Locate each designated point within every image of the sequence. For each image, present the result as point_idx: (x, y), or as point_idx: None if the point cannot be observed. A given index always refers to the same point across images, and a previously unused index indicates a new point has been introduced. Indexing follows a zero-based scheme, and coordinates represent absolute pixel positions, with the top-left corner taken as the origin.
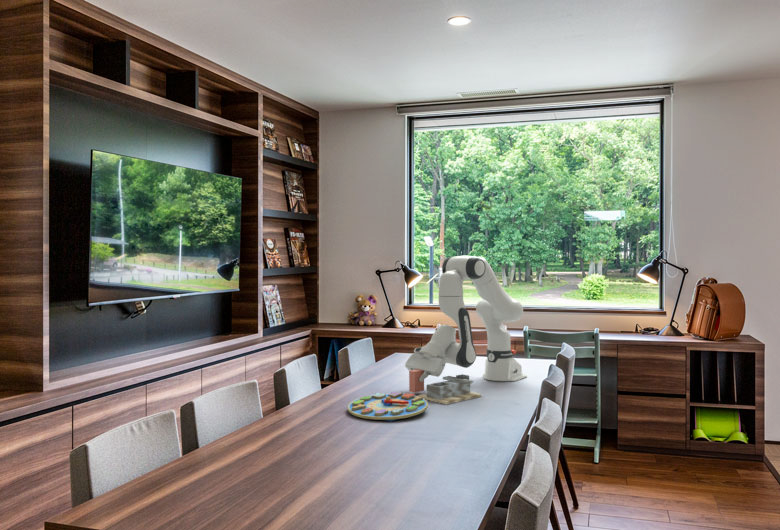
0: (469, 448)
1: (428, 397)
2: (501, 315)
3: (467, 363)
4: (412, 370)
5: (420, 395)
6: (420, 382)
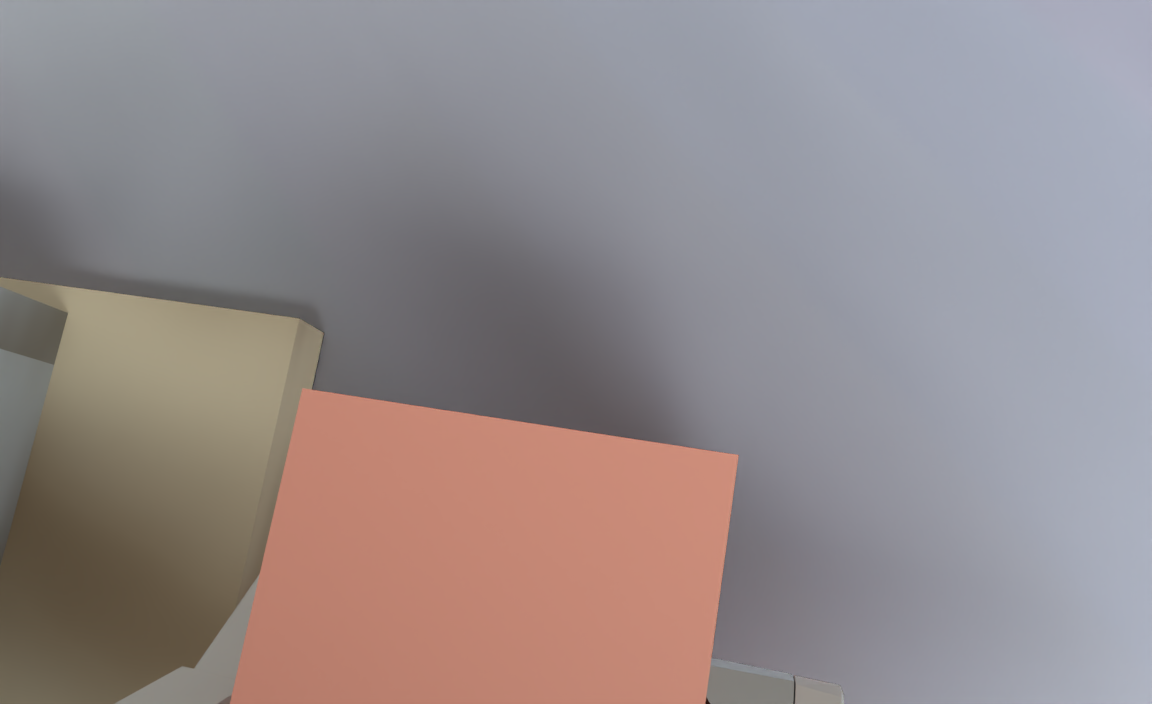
0: None
1: (1, 286)
2: None
3: None
4: (614, 609)
5: (236, 327)
6: None
